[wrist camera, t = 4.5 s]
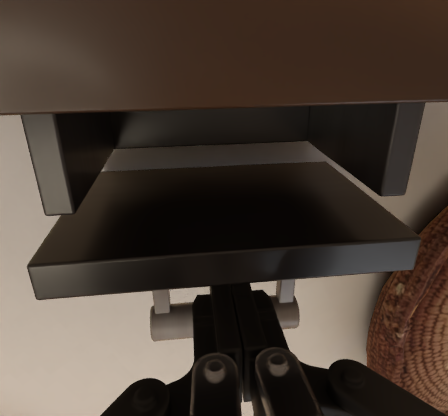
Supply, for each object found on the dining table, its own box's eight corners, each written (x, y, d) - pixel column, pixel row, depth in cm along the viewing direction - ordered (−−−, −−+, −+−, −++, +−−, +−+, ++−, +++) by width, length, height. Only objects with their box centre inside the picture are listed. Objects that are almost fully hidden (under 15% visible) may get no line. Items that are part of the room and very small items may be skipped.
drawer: (315, 257, 20) (388, 373, 13) (107, 273, 19) (66, 409, 12) (360, -138, 13) (573, -351, 6) (32, -152, 12) (-179, -435, 5)
